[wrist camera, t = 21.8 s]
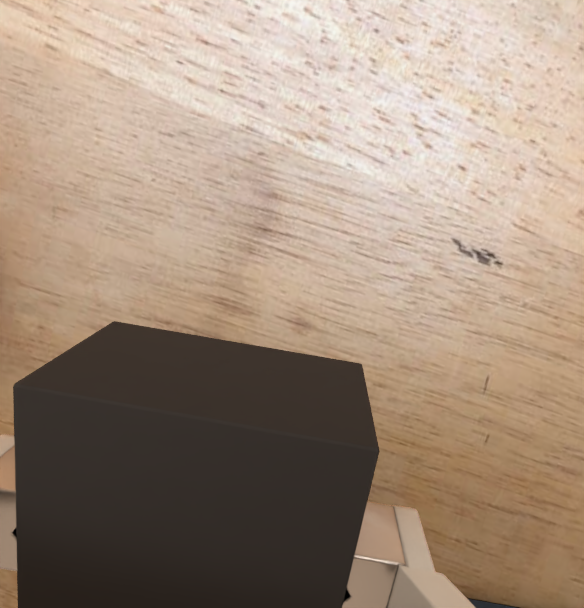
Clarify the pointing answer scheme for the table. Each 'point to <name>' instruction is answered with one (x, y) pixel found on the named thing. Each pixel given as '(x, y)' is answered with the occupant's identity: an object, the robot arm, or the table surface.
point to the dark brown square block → (189, 474)
